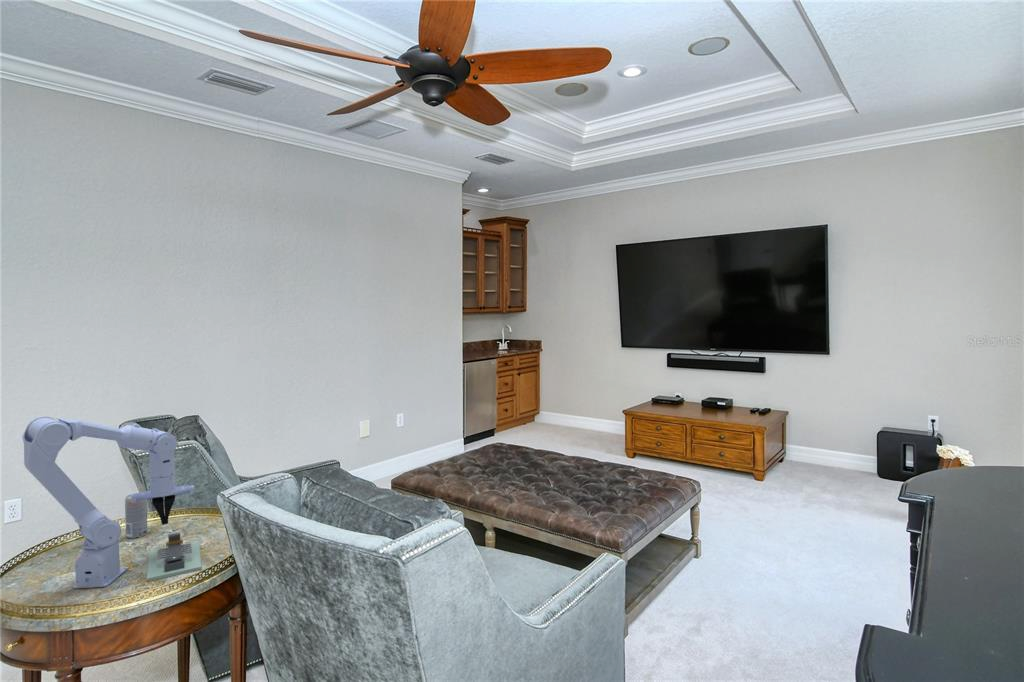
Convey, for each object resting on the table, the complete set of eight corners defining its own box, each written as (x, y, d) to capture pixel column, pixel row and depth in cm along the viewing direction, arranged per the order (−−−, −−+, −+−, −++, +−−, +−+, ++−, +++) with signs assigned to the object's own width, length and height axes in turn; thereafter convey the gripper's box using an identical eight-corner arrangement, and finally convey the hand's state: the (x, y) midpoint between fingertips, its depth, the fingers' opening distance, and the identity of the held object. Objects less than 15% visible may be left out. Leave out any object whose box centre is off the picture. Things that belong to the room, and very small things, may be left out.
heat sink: (192, 560, 148) (191, 553, 148) (156, 568, 144) (156, 561, 144) (191, 549, 155) (191, 542, 155) (157, 556, 151) (157, 549, 151)
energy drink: (145, 529, 170) (144, 491, 169) (149, 535, 166) (148, 496, 165) (124, 534, 166) (123, 495, 165) (128, 540, 163) (126, 500, 162)
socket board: (201, 569, 145) (200, 551, 145) (146, 581, 139) (145, 563, 138) (199, 543, 160) (198, 527, 160) (150, 553, 154) (149, 536, 154)
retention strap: (183, 559, 144) (182, 555, 144) (165, 563, 142) (164, 559, 142) (182, 542, 155) (182, 538, 155) (166, 545, 153) (165, 541, 153)
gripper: (193, 467, 158) (195, 513, 159) (132, 475, 151) (134, 523, 152) (193, 473, 152) (195, 521, 153) (129, 482, 145) (132, 532, 146)
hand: (164, 523), depth 152 cm, fingers closed
